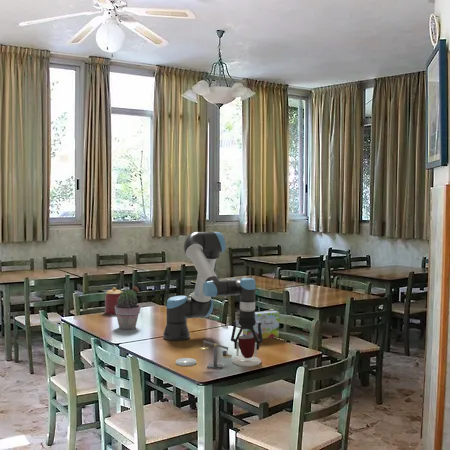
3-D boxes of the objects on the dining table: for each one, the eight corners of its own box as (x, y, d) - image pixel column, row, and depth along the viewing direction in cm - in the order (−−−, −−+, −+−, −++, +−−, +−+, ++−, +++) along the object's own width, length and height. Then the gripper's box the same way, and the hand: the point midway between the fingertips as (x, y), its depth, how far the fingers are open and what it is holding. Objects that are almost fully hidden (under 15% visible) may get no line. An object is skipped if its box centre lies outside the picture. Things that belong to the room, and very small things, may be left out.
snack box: (247, 341, 324) (247, 314, 323) (242, 338, 329) (243, 312, 328) (279, 337, 334) (279, 311, 333) (274, 335, 339) (274, 309, 338)
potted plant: (104, 329, 346) (105, 288, 345) (122, 323, 364) (122, 284, 363) (130, 332, 339) (131, 290, 338) (147, 326, 357) (147, 286, 356)
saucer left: (173, 365, 275) (173, 363, 274) (177, 359, 284) (177, 357, 284) (194, 366, 273) (194, 364, 273) (197, 360, 283) (197, 358, 283)
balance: (198, 367, 272) (198, 341, 271) (200, 364, 276) (200, 338, 276) (230, 369, 270) (231, 342, 269) (232, 366, 275) (232, 340, 274)
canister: (101, 314, 392) (101, 288, 392) (108, 310, 405) (108, 285, 404) (119, 314, 390) (120, 289, 389) (126, 311, 403) (126, 286, 402)
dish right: (230, 365, 275) (230, 363, 275) (233, 357, 289) (233, 355, 289) (259, 367, 273) (259, 364, 273) (261, 359, 287) (261, 356, 287)
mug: (233, 357, 283) (231, 337, 282) (244, 353, 288) (243, 333, 287) (247, 360, 275) (246, 339, 274) (259, 356, 280) (258, 336, 280)
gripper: (225, 310, 278) (224, 357, 279) (268, 312, 275) (267, 359, 276) (226, 307, 285) (226, 352, 286) (269, 309, 283) (268, 354, 284)
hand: (246, 355), depth 281 cm, fingers open, 8 cm apart
